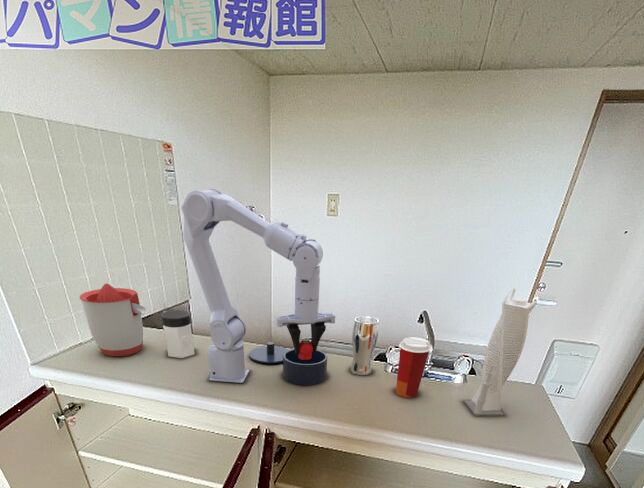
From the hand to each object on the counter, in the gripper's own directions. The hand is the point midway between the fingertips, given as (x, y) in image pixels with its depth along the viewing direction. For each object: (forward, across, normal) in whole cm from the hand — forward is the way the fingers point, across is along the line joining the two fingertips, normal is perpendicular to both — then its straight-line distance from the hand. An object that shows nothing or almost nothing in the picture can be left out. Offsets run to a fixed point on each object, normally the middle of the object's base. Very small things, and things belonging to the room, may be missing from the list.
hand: (305, 352), depth 104 cm
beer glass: (+10, -19, -6) cm, 22 cm away
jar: (+10, +31, -31) cm, 45 cm away
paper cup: (+10, -25, +10) cm, 29 cm away
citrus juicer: (+10, +48, -37) cm, 61 cm away
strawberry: (+1, 0, 0) cm, 1 cm away
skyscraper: (+10, -41, +22) cm, 48 cm away
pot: (+10, -2, -6) cm, 12 cm away
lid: (+9, +4, -22) cm, 24 cm away
